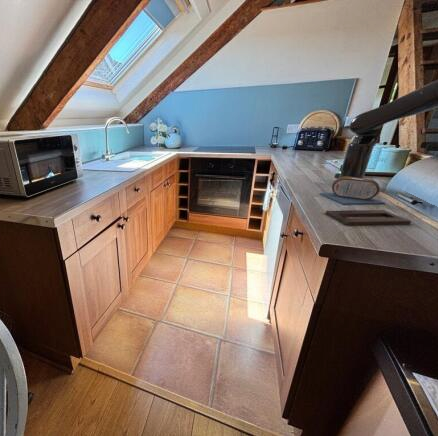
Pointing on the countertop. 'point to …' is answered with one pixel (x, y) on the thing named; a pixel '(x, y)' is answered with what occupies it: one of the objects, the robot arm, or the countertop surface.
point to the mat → (350, 199)
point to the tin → (355, 188)
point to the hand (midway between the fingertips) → (423, 145)
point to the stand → (390, 219)
